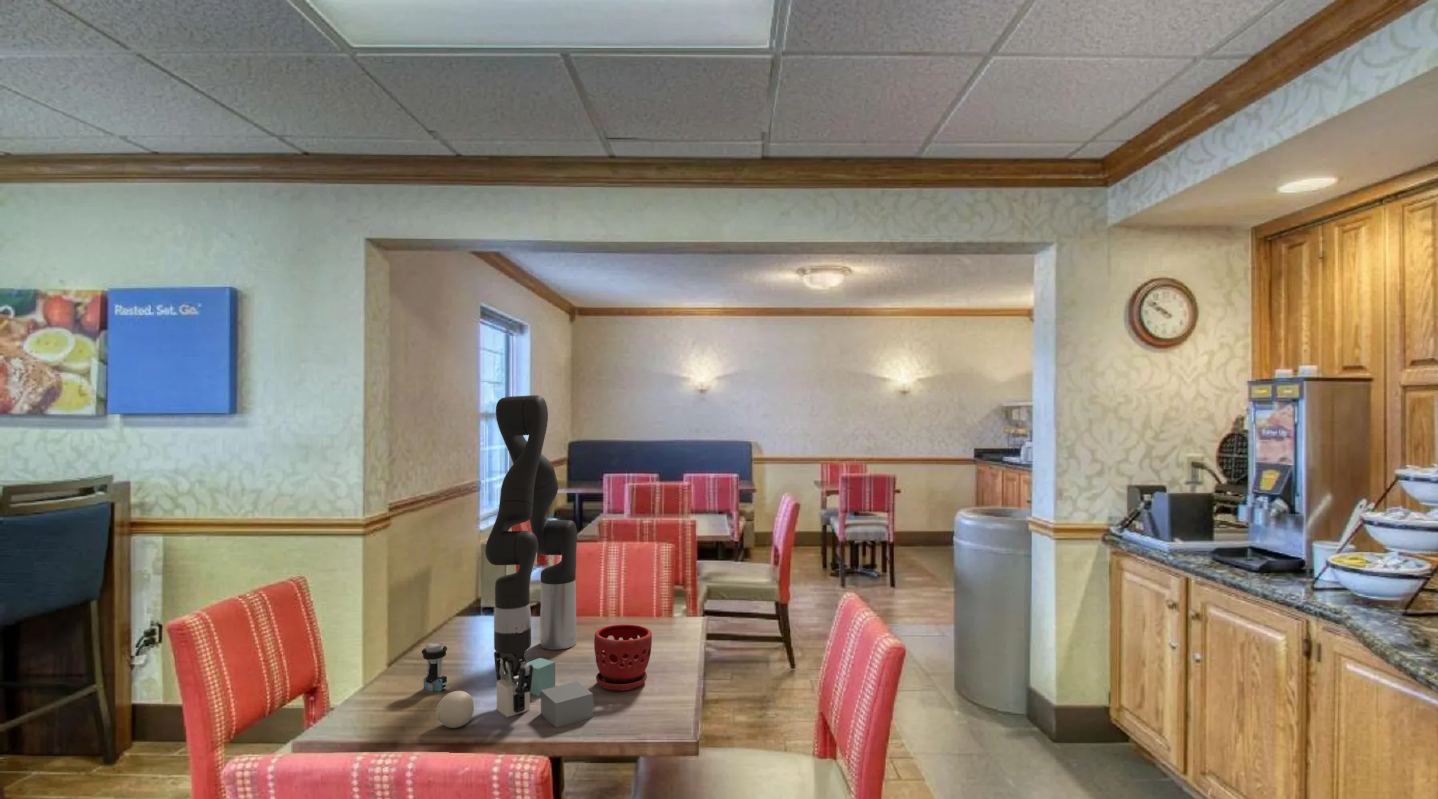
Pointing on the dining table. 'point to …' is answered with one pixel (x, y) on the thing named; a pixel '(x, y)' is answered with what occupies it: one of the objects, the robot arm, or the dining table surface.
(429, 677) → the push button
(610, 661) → the plant pot
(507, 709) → the cream block
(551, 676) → the teal block
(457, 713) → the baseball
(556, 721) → the slate base block
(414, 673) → the dining table surface
